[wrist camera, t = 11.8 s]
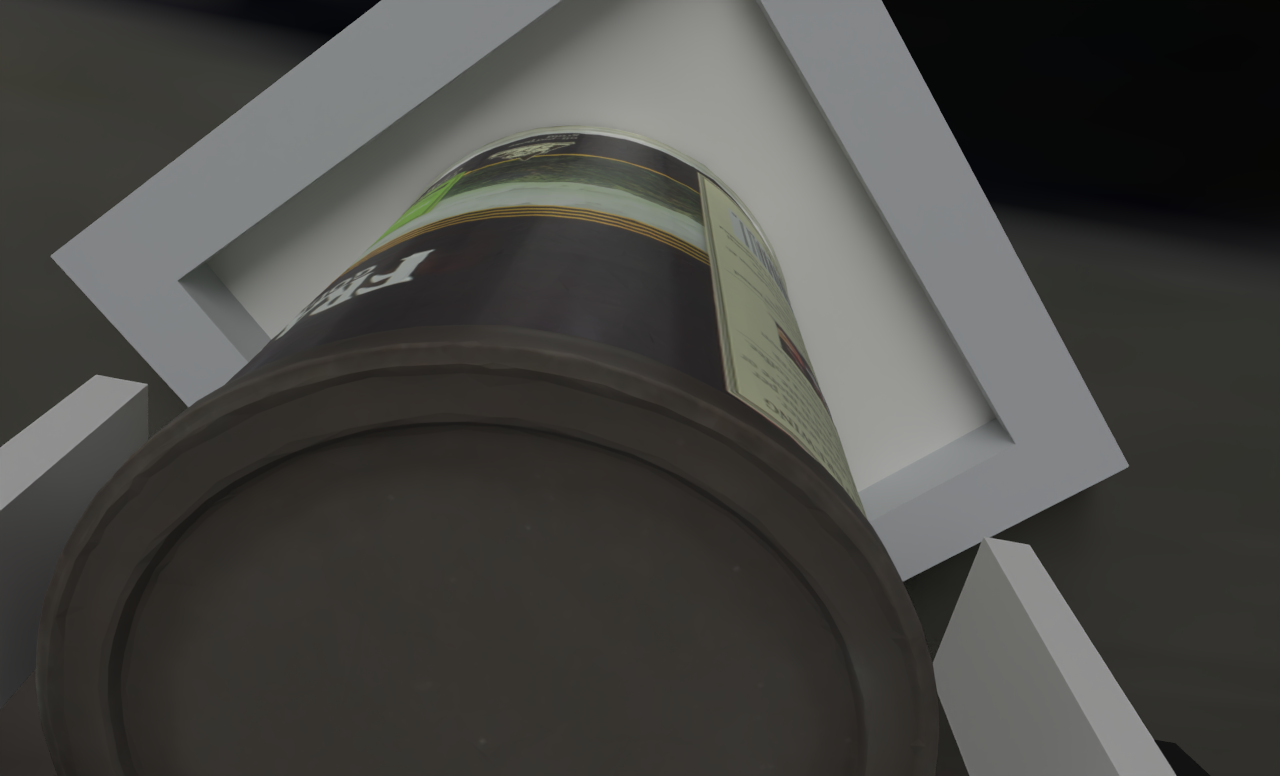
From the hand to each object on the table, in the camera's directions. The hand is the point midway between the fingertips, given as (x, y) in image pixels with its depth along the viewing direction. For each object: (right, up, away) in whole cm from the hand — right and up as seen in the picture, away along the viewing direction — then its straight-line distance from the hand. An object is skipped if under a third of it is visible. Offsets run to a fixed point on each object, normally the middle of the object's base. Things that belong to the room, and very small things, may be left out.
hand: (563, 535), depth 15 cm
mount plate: (0, +4, +10) cm, 10 cm away
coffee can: (0, +4, +9) cm, 10 cm away
